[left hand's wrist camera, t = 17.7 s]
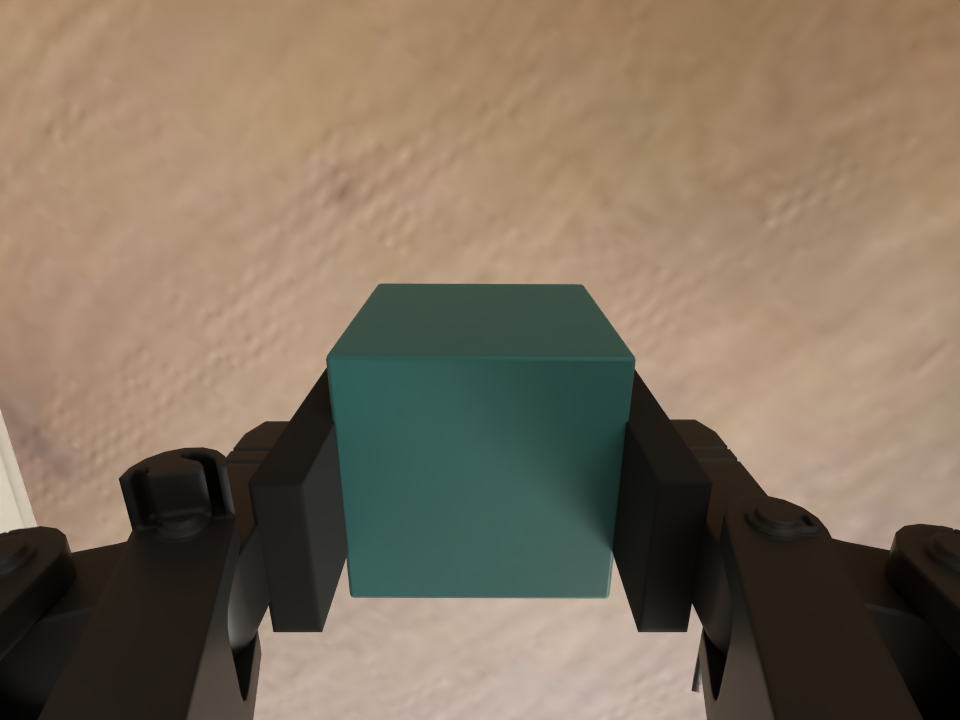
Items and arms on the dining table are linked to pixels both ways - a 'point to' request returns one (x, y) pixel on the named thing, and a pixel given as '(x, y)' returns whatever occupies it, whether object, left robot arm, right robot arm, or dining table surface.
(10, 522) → the box
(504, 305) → the teal cube
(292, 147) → the dining table surface
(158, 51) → the dining table surface
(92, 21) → the dining table surface
